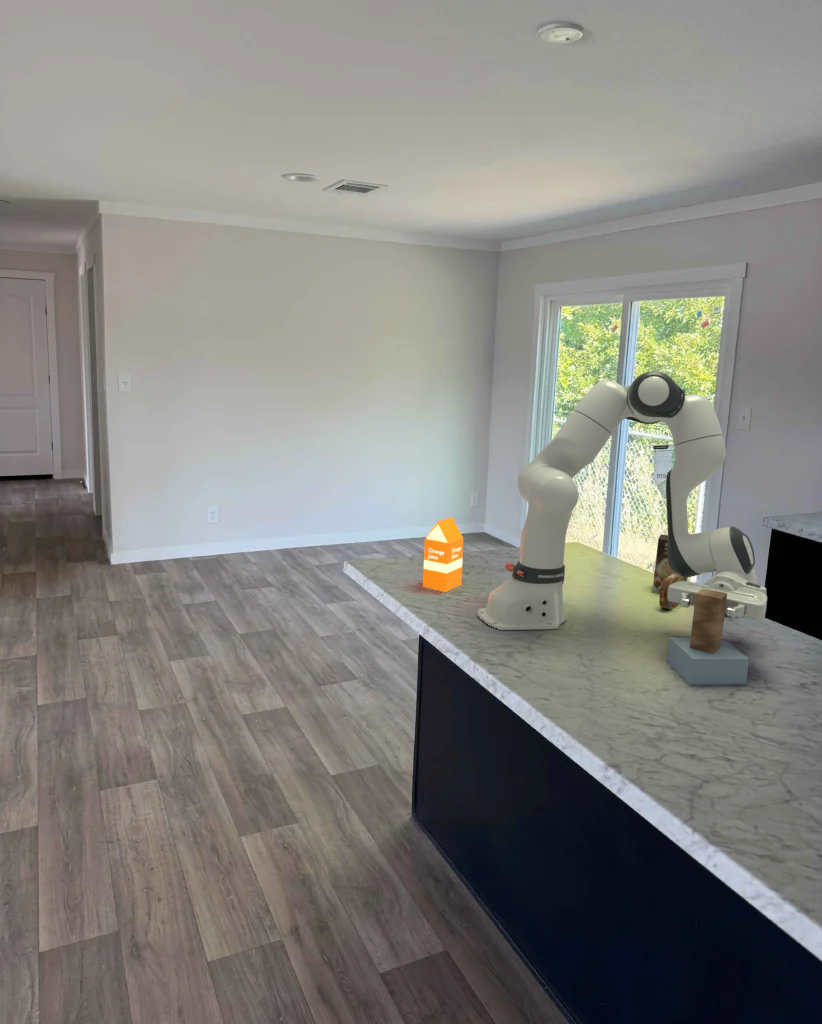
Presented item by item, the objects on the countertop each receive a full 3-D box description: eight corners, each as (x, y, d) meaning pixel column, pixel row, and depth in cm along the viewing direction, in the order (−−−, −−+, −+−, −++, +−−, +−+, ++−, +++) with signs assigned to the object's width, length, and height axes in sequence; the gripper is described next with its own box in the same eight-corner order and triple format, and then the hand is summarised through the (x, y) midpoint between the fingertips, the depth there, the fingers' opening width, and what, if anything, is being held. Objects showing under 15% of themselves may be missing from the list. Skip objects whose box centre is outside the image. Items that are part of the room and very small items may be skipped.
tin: (667, 613, 202) (670, 582, 200) (655, 610, 203) (658, 580, 202) (685, 600, 213) (688, 571, 212) (674, 597, 215) (677, 568, 213)
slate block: (690, 686, 157) (693, 658, 156) (666, 662, 169) (669, 637, 168) (745, 685, 158) (749, 658, 157) (718, 662, 170) (721, 637, 169)
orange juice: (461, 586, 219) (464, 518, 215) (446, 594, 211) (449, 523, 207) (438, 581, 223) (440, 514, 219) (422, 588, 215) (424, 519, 211)
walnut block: (689, 647, 162) (695, 593, 160) (696, 641, 166) (703, 588, 164) (713, 653, 159) (720, 598, 157) (720, 646, 163) (727, 593, 161)
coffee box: (651, 592, 219) (656, 538, 216) (654, 586, 225) (659, 533, 221) (684, 597, 215) (690, 542, 212) (687, 591, 221) (693, 538, 218)
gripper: (679, 570, 177) (659, 584, 166) (774, 589, 165) (759, 604, 154) (676, 596, 178) (656, 611, 167) (770, 616, 166) (756, 634, 155)
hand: (706, 608), depth 160 cm, fingers open, 8 cm apart
